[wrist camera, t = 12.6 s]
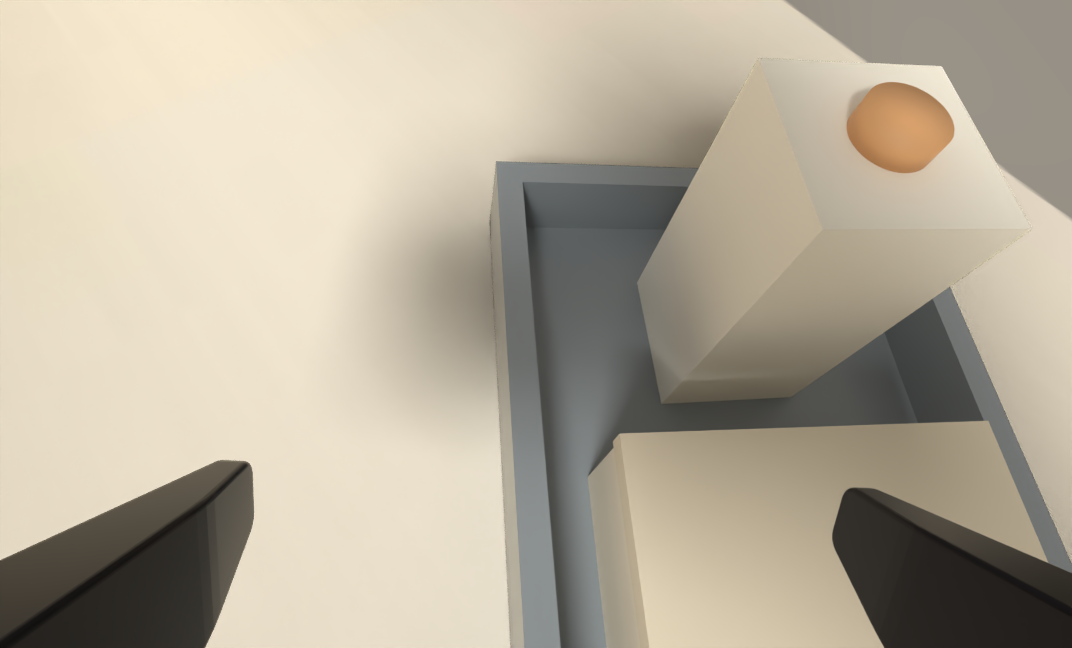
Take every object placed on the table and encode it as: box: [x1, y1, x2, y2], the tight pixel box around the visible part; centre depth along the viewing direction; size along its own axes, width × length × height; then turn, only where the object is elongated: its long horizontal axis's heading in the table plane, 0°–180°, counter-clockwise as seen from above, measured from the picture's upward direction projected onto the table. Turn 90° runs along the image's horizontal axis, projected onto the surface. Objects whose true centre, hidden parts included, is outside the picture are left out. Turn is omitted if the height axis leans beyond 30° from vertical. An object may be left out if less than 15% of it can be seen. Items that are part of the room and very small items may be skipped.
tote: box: [490, 161, 1072, 648], centre depth 22 cm, size 22×18×4 cm
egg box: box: [588, 421, 1048, 648], centre depth 19 cm, size 8×12×5 cm
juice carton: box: [637, 58, 1033, 404], centre depth 20 cm, size 6×6×12 cm
